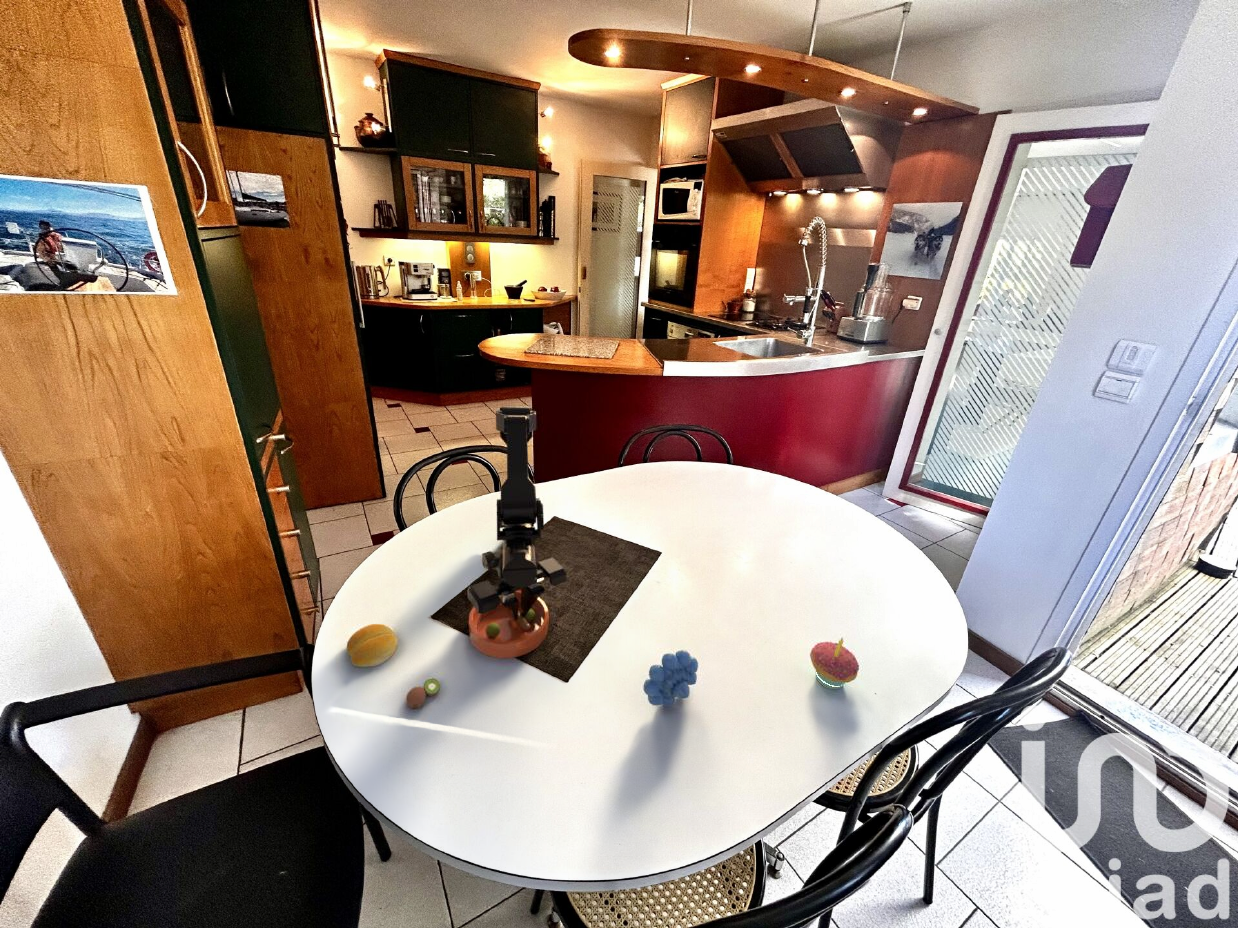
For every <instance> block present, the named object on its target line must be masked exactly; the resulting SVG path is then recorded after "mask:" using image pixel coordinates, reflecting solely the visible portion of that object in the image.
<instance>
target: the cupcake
mask: <svg viewBox="0 0 1238 928" xmlns="http://www.w3.org/2000/svg"><path fill="white" fill-rule="evenodd" d="M843 644H844V638H843V637H841V638H839V640H838V643H837V642H832V641H823V642H818V643H817V644H815V645H814V646H813V647H812V648H811V650H810V653H809V657H810V661H811V664H812V666H813V668H814V670H816V671H815V673H816V672H817V674H818V676H819V677H820V678H821V679H822V680H823V681H825V682H826V683H828V684H830V685H834V686H840V687H832V686H829V685H827V684H825V683H823V682H822V681H821V680H820V679H819V678H818V677H817V675H816V674H815V678H816V680H817V681H818V682H819V684H820V685H822V686H823V687H824V688H826V689H829V690H838V689H840V688H842V686H844V685H845V684H846V683H847V684H849V683H850V682H852V681H854V680H856V679H857V677H858V674H859V673H858V672H859V670H860V665H859V662H858V660H857V658H856V655H854V654H853V652H852V651H850V650H849V649H848V648H846V647H844V646H843ZM841 685H842V686H841Z"/></svg>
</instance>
